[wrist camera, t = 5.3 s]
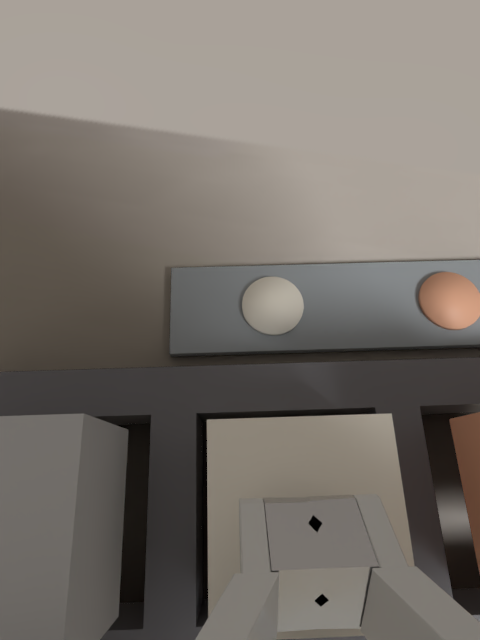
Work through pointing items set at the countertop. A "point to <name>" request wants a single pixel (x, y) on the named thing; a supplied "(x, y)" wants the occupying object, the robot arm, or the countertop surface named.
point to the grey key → (60, 526)
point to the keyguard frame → (248, 402)
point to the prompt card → (324, 307)
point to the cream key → (296, 479)
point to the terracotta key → (469, 469)
